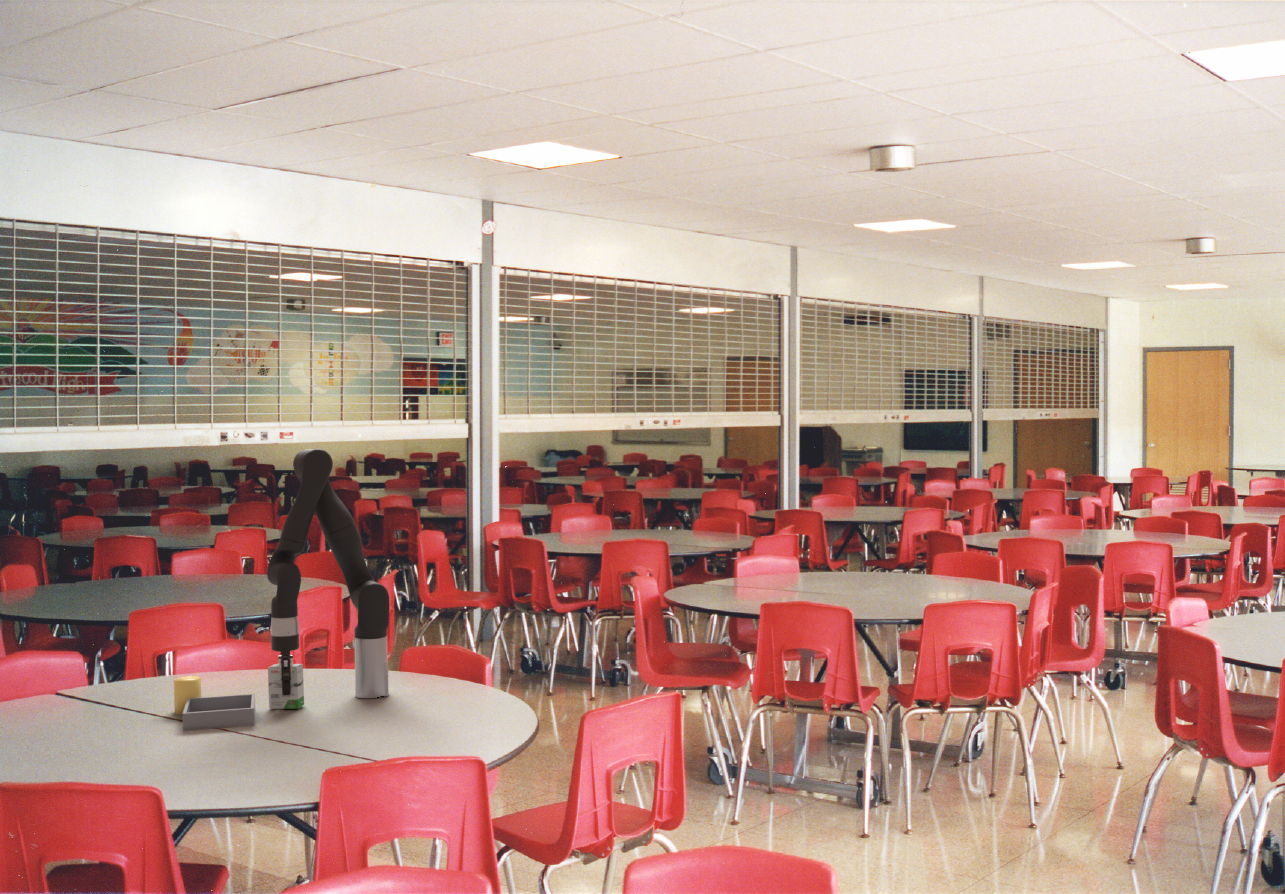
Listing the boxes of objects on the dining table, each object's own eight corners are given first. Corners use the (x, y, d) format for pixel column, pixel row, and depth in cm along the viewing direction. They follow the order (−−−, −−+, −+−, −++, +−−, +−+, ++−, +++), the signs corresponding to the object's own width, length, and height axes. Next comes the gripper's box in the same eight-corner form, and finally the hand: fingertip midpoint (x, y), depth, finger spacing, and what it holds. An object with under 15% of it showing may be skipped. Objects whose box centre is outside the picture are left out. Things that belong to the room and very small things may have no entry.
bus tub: (255, 709, 338) (254, 693, 338) (254, 725, 321) (253, 708, 321) (187, 714, 333) (187, 698, 333) (183, 730, 316) (182, 713, 316)
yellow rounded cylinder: (202, 707, 341) (201, 675, 341) (200, 713, 334) (200, 680, 334) (175, 709, 339) (174, 677, 339) (173, 715, 332) (172, 682, 332)
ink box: (305, 704, 341) (304, 662, 341) (298, 709, 336) (297, 666, 336) (275, 704, 342) (274, 662, 342) (268, 709, 337) (267, 666, 337)
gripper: (299, 636, 333) (300, 697, 333) (298, 627, 347) (299, 685, 347) (270, 638, 331) (272, 699, 331) (270, 629, 344) (272, 687, 345)
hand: (286, 692), depth 339 cm, fingers closed on ink box, 6 cm apart
